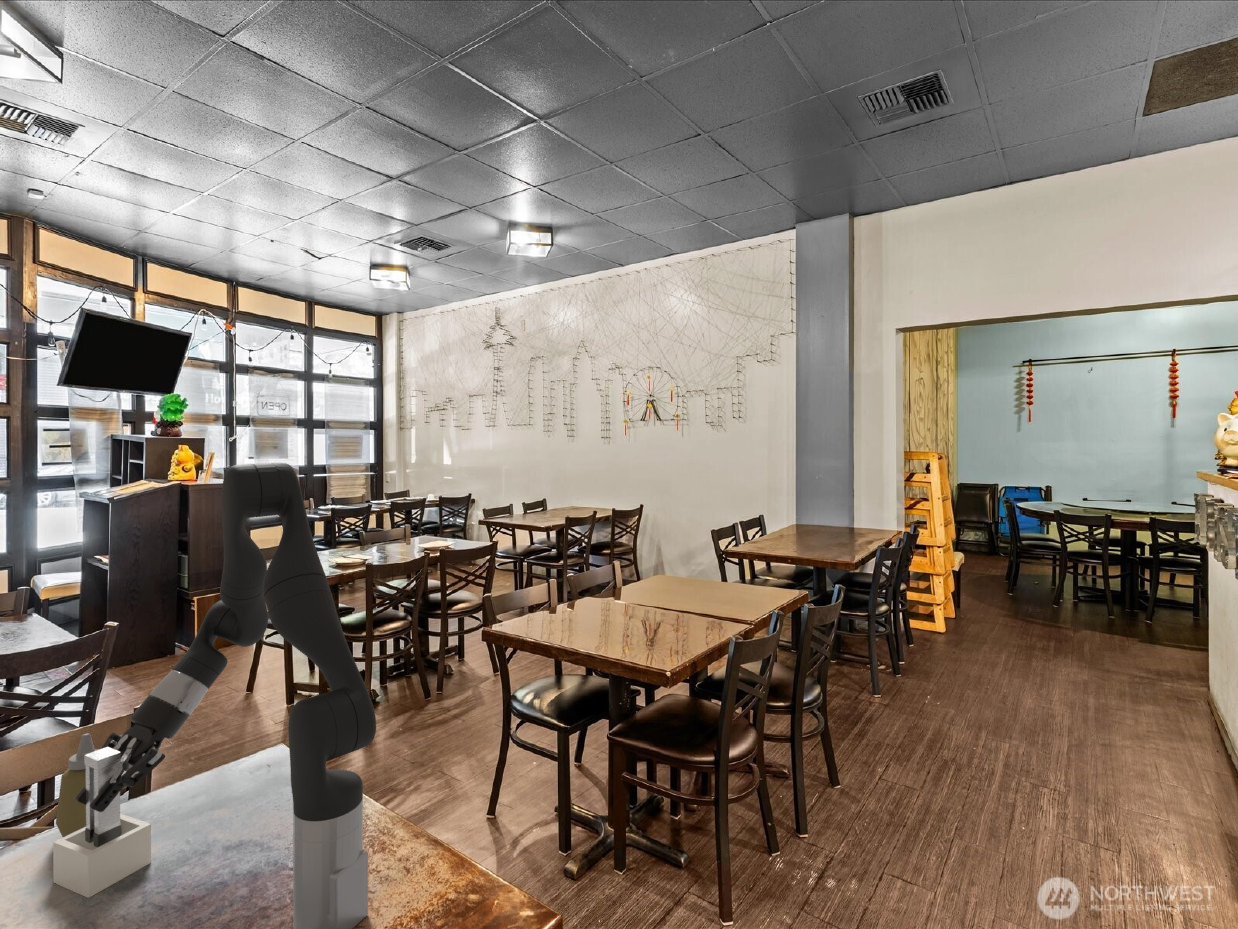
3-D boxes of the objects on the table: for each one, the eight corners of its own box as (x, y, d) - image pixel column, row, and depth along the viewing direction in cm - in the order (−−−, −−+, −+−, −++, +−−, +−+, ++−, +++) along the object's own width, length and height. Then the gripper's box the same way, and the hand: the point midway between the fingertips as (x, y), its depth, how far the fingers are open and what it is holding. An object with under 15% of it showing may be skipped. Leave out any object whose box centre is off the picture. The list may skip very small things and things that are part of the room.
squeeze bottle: (115, 817, 117) (114, 721, 117) (115, 837, 111) (115, 736, 111) (57, 833, 112) (56, 733, 112) (54, 855, 106) (53, 749, 106)
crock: (150, 862, 104) (150, 824, 104) (88, 898, 96) (88, 856, 96) (116, 849, 108) (116, 812, 108) (53, 882, 99) (53, 842, 99)
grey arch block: (121, 837, 102) (120, 752, 102) (98, 848, 99) (97, 760, 99) (108, 830, 104) (107, 746, 104) (85, 840, 101) (84, 755, 101)
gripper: (131, 686, 111) (45, 786, 101) (177, 701, 105) (90, 810, 94) (164, 705, 116) (85, 803, 105) (210, 721, 110) (131, 826, 99)
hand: (88, 805), depth 100 cm, fingers closed on grey arch block, 3 cm apart
